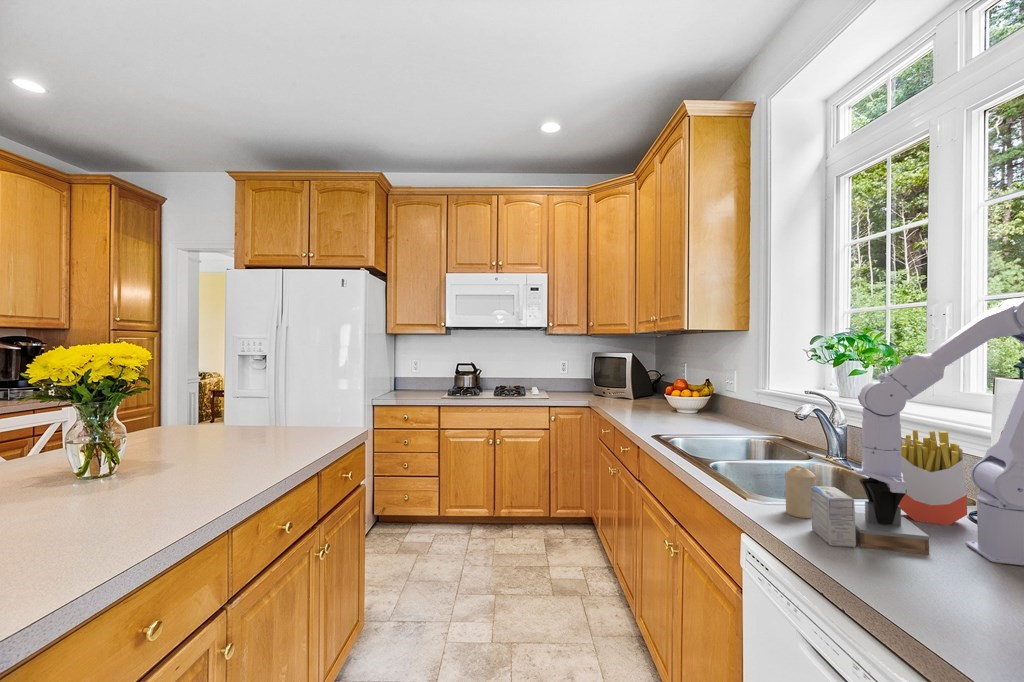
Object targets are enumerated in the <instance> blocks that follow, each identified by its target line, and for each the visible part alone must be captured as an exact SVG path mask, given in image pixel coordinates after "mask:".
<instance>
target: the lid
mask: <svg viewBox="0 0 1024 682" xmlns="http://www.w3.org/2000/svg"><path fill="white" fill-rule="evenodd" d="M864 509H865V510H864V512H855V528H856V529H857V530H858V531H859V532H860V533H865V534H875V535H885V536H895V537H905V538H916V539H926V540H929V541H930V536H929V535H928V534H927V533H926V532H924V531H923V530H922V529H921V528H919V527H918V526H916V525H915V524H914V523H912V522H911V521H910V520H908V519H907V518H906V517H904V516H902V514H901V513H902V510H901V507H900V506H899V505H898V508H897V511H896V514H895V518H894V521H893V524H892V525H891V524H880V523H878V521H877V518H876V514H875V508H874V502H869V501H868V500H867V501H864Z"/></svg>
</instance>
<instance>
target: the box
mask: <svg viewBox="0 0 1024 682" xmlns="http://www.w3.org/2000/svg"><path fill="white" fill-rule="evenodd" d="M855 535H856V545H858V546H859V547H860V548H866V549H874V550H884V551H893V552H902V553H912V554H922V555H930V539H929V540H926V539H916V538H905V537H895V536H885V535H875V534H865V533H860V532H859V531H858V530H857V529H856V528H855Z"/></svg>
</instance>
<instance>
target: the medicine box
mask: <svg viewBox="0 0 1024 682" xmlns="http://www.w3.org/2000/svg"><path fill="white" fill-rule="evenodd" d="M855 505H856V504H855V499H854V498H853V497H851V496H850V495H848V494H846V493H845V492H843V491H842V490H840V489H839V488H836V487H835V486H825V485H824V486H819V485H818V486H817V485H816V486H815V487H811V509H812V510H811V511H812V518H811V530H812V531H813V532H814V533H816V534H817V535H818V536H819V537H820V538H821V539H822V540H823V541H824V542H826V544H828V545H829V546H830V547H831V546H833V547H846V548H855V547H857V543H856V535H855V513H856V511H855V510H856V509H855V508H856V507H855Z"/></svg>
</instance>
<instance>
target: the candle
mask: <svg viewBox="0 0 1024 682" xmlns="http://www.w3.org/2000/svg"><path fill="white" fill-rule="evenodd" d="M784 474H785V512H786V514H787V513H788V515H789V516H792V517H795V518H800V519H801V518H802V519H812V511H811V510H812V509H811V487H815V486H817V485H816V475H815V474H814V472H812V471H810V470H809V469H808V468H805V467H803V466H800V465H793V466H791V467H790V468H789V469H787V470H786V471H785V473H784Z"/></svg>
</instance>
